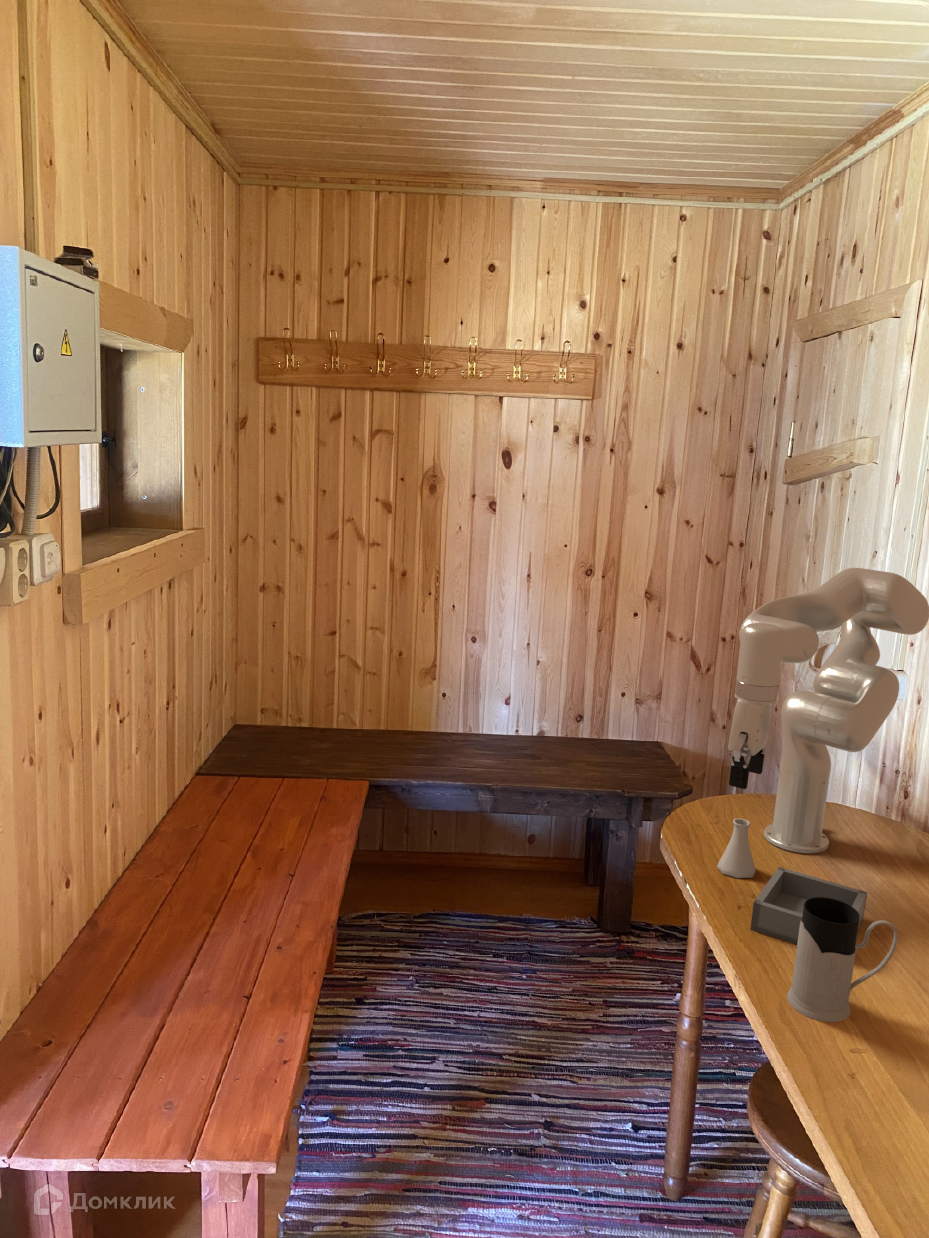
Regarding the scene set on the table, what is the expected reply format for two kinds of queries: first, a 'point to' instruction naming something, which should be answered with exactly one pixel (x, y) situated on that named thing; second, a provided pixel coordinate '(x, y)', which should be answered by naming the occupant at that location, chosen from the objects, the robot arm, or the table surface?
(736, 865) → the flask
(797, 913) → the charcoal box
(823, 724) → the robot arm
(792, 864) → the table surface
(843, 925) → the grey mug
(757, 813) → the table surface
